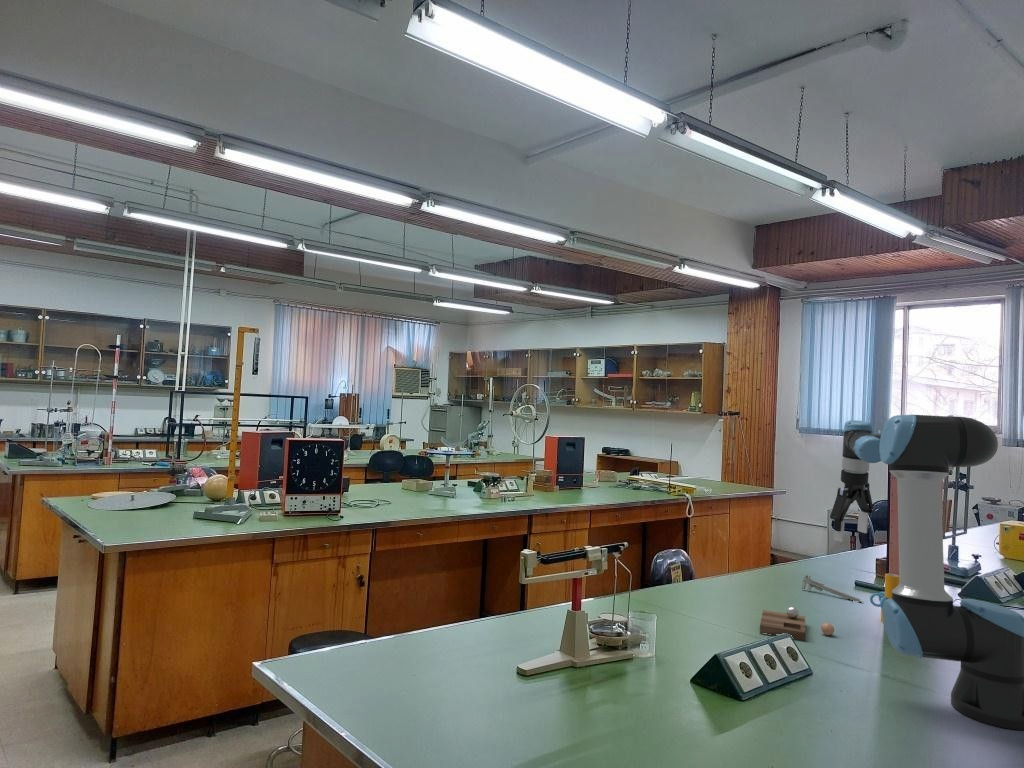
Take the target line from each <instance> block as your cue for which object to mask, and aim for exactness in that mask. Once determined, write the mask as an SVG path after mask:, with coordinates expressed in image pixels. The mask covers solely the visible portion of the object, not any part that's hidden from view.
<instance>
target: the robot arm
mask: <svg viewBox="0 0 1024 768" xmlns="http://www.w3.org/2000/svg"><path fill="white" fill-rule="evenodd" d="M842 433H843V438H842V439H843V440H842V441H843V442H842V455H841V456H842V457H841V471H840V481H841V482H842V483H843V484H844V486H843V488H841V487H838V488H837V494H836V498H835V500H834V504H833V507H832V509H831V513H830V515H829V518H830V520H833V521H834V523H833V540H834V541H838V542H840V543H843V542H844V536H845V535H844V533H845V522H846V521H844V518H845V516H846V514H847V513H848V511H849V509H850V506H851V504H853V503H854V502H855V501H856V504H857V505H858V508H859V509H860V510H859V511H858V517H857V532H860V533H863V534H867V533H868V524H869V513H870V514H872V513H873V509H874V504H873V500H872V496H871V491H870V483H869V471H870V464H876V463H877V464H878V463H879V462H882V463H883V464H886V465H889V467H888V469H889V473H890V474H891V475H893V476H894V478H896V486H897V489H896V490H897V494H896V495H897V529H898V533H897V534H898V535H897V536H898V575H899V585H898V586H897V587H896V588H894V589H893V590H892V599H887V600H885V601H884V602H883V608H882V614H883V622H884V623H883V622H882V623H883V625H884V629H885V633H886V635H887V638H888V641H889V642H890V645H891V646H892V648H893V649H894V650H895V651H896V652H898V653H899V654H901V655H905V656H911V657H916V658H918V659H922V658H927V659H933V660H942V661H943V660H944V661H952V662H960V671H959V673H958V676H957V678H956V680H955V683H954V685H953V687H952V689H951V692H950V705H951V706H952V708H954V709H955V710H956V711H957V712H959V713H960V712H961V713H960V714H962V715H964V716H966V717H968V718H971V719H973V720H976V721H978V722H981V723H983V724H987V725H991V726H995V727H999V728H1003V729H1008V730H1009V729H1010V730H1016V731H1018V730H1019V731H1024V616H1023V615H1022V614H1020V613H1019V612H1017V611H1015V610H1013V609H1010V608H1007V607H1006V606H1002V605H999V604H995V603H993V602H988V601H984V600H978V599H973V598H962V599H961V600H960V602H959V606H958V605H954V599H953V596H951V594H949V593H948V592H947V591H946V589H945V571H944V569H945V568H944V567H945V566H944V565H945V564H944V537H943V536H944V535H943V529H944V528H943V507H942V506H943V501H942V481H943V480H945V478H946V477H948V476H949V475H950V473H949V471H950V470H949V468H951V467H952V468H971V467H977V466H979V465H983V464H985V463H988V462H989V461H990V460H992V459H993V457H994V456H995V455H996V453H997V451H998V448H999V441H998V437H997V435H996V433H995V432H994V430H992V428H991V427H989V426H988V425H987V424H986V423H984V422H982V421H980V420H977V419H975V418H971V417H968V416H967V417H965V416H945V415H944V416H942V415H925V414H901V415H899V414H898V415H893V416H891V417H890V418H889V419H887V421H885V424H884V426H883V429H882V431H881V434H874V433H873V425H872V423H871V422H869V421H864V420H858V419H857V420H847V421H845V422H844V427H843V431H842Z"/></svg>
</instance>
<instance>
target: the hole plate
mask: <svg viewBox="0 0 1024 768" xmlns="http://www.w3.org/2000/svg"><path fill="white" fill-rule="evenodd" d="M761 613H762V614H761V618H760V624H759V634H760V633H767V634H771V635H776V634H782V633H788V634H790V635H792V637H793V638H794V639H795V640H794V639H793V640H794V641H800V640H804V641H803V642H806V616H804V615H800V614H799V615H798V617H797V618H790V617H789V616H788V615H787V613H784V612H779V611H772V610H766V609H763V610H762V612H761Z"/></svg>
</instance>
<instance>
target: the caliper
mask: <svg viewBox="0 0 1024 768" xmlns="http://www.w3.org/2000/svg"><path fill="white" fill-rule="evenodd" d="M807 584H808V586H807ZM806 586H807V590H810V591H811V590H812V589H813V588H815V590H817V591H818V590H819V592H822V591H826V592H829V593H830V594H833V595H835V596H838V597H841V598H843V599H846V600H848V599H850V600H849V601H851V600H854V601H858V602H859V603H860V602H863V601H862V600H861V599H860V598H858V597H855V596H852V595H851V594H848V593H846V592H842V591H840V590H837V589H835V588H832V587H829V586H828V585H825V583H822V582H820V581H817V580H815V579H811V575H808V574H806V575H805V576H804V577H803V579H802V581H801V590H802V589H805V590H806ZM807 590H806V591H807ZM858 602H857V603H858Z"/></svg>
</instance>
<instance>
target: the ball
mask: <svg viewBox="0 0 1024 768" xmlns="http://www.w3.org/2000/svg"><path fill="white" fill-rule="evenodd" d="M820 629H821V632H822V634H823V635H825V636H828V637H829V635H830V636H832V635H833V634H834V632H835V627H834V625H833V624H832V623H829V622H824V623H822V624H821V626H820Z"/></svg>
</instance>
